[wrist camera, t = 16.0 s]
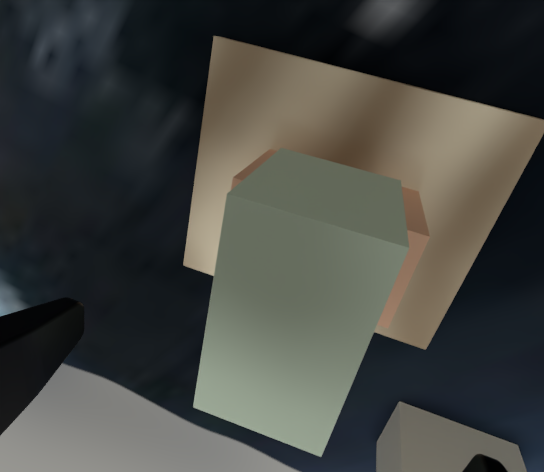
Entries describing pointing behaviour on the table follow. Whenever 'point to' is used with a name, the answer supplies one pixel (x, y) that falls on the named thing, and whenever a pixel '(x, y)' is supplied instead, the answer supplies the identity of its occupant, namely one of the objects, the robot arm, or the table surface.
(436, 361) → the table surface
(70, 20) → the table surface
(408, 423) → the cream brick
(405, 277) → the terracotta brick
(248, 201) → the sage brick
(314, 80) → the birch board
